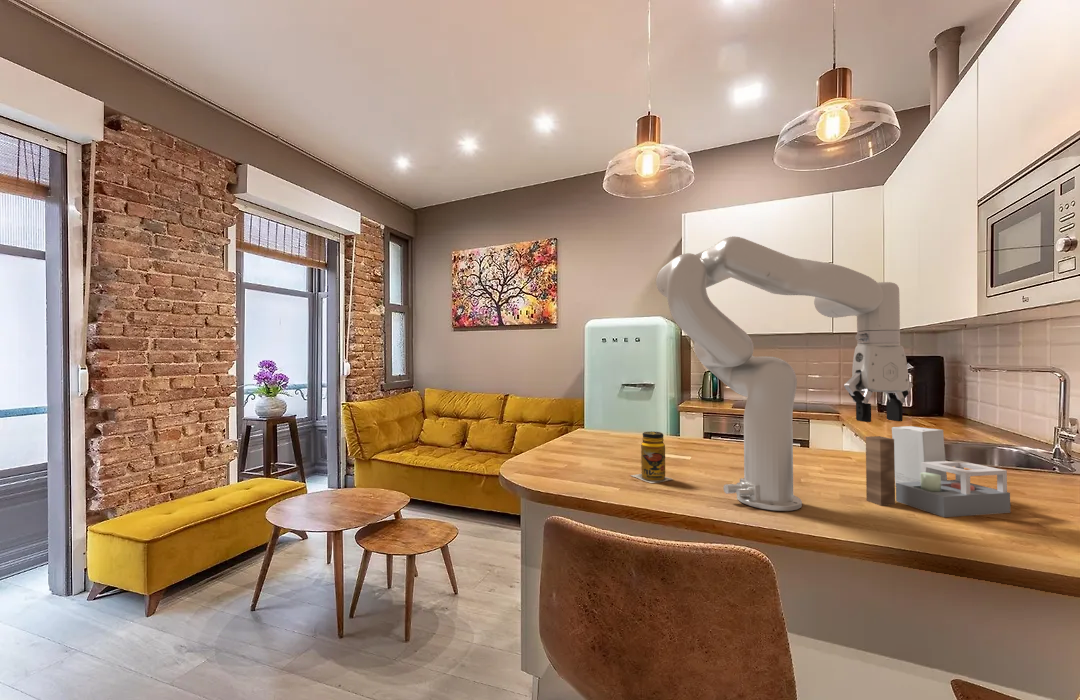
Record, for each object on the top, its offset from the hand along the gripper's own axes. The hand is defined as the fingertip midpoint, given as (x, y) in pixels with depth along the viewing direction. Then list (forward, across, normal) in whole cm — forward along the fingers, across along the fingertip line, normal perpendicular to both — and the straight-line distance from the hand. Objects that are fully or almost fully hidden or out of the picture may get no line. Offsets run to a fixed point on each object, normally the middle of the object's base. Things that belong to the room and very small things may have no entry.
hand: (879, 420), depth 98 cm
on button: (+14, +7, -5) cm, 17 cm away
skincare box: (+18, +17, +6) cm, 25 cm away
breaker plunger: (+16, +15, -5) cm, 23 cm away
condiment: (+18, -41, +27) cm, 52 cm away
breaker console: (+18, +12, -5) cm, 22 cm away
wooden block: (+18, 0, 0) cm, 18 cm away
